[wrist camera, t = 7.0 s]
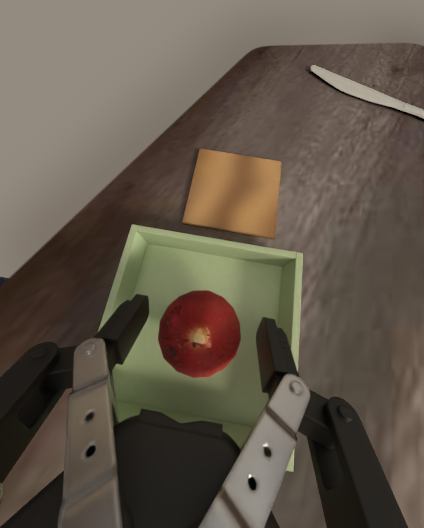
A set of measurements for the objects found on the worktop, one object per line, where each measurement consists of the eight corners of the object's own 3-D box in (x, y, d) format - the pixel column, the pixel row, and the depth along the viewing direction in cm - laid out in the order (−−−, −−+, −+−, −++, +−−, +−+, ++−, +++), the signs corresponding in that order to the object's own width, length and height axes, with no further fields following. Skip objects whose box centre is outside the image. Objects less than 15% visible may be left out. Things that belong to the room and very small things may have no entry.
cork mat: (182, 223, 19) (182, 222, 19) (199, 151, 22) (199, 148, 22) (273, 239, 19) (274, 237, 19) (280, 164, 22) (281, 161, 21)
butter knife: (506, 156, 22) (512, 139, 22) (305, 74, 25) (314, 60, 26) (499, 160, 22) (504, 143, 23) (303, 78, 26) (312, 65, 26)
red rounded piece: (182, 371, 16) (158, 432, 8) (161, 308, 17) (122, 308, 9) (243, 343, 16) (275, 374, 8) (218, 285, 18) (226, 265, 10)
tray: (96, 403, 15) (67, 427, 12) (144, 238, 19) (131, 224, 16) (274, 437, 15) (293, 472, 12) (286, 262, 19) (303, 253, 15)
